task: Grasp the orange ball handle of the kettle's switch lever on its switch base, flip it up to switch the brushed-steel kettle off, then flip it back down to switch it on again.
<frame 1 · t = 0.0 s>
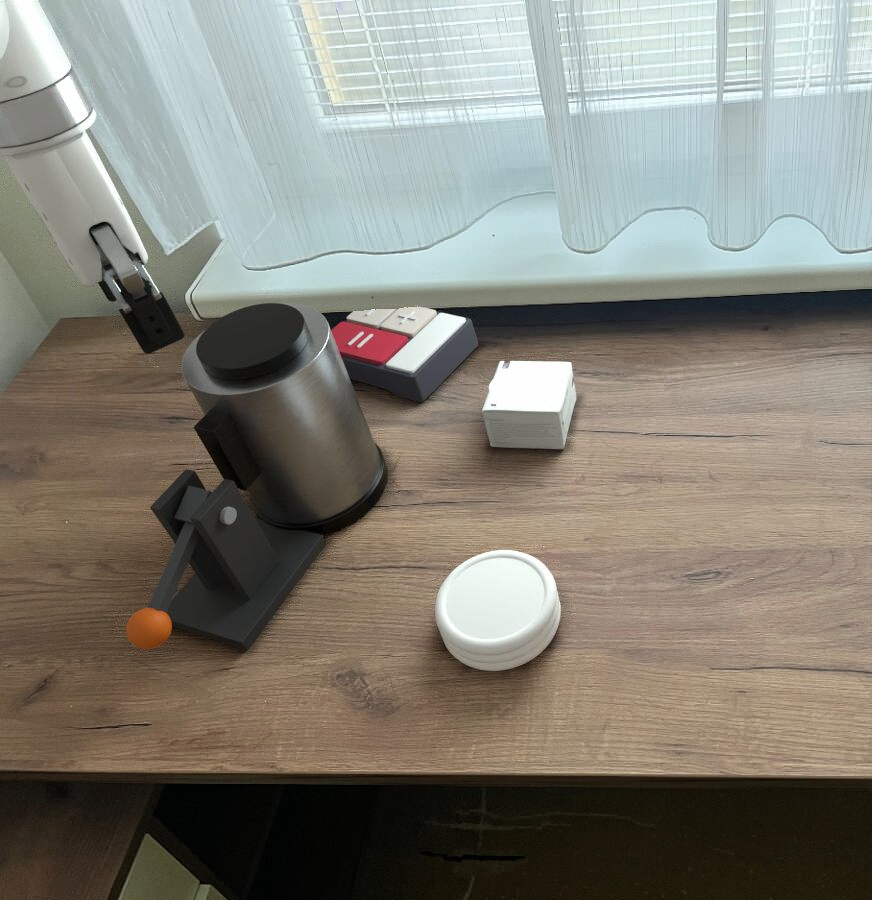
hand: (145, 318, 70), 22 cm above the table, tool pointing down, fingers open, 9 cm apart
small box: (535, 424, 90), on the table
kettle: (322, 487, 86), on the table
switch base: (247, 582, 78), on the table
switch lever: (175, 568, 70), point 8 cm above the table, hinge at -25.0°
white jar lid: (502, 622, 73), on the table
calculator: (399, 359, 100), on the table
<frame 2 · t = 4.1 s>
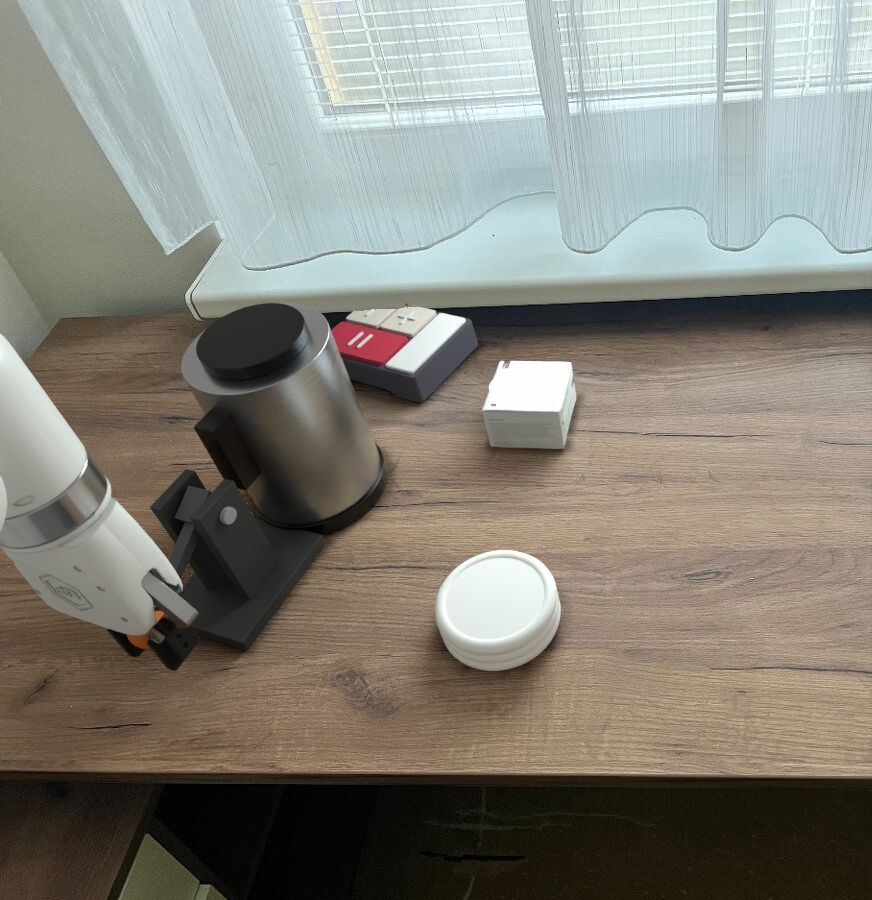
hand: (165, 647, 70), 3 cm above the table, tool pointing down, fingers closed on switch lever, 3 cm apart
switch lever: (175, 568, 70), point 8 cm above the table, hinge at -25.0°, touching gripper
everything else where it was.
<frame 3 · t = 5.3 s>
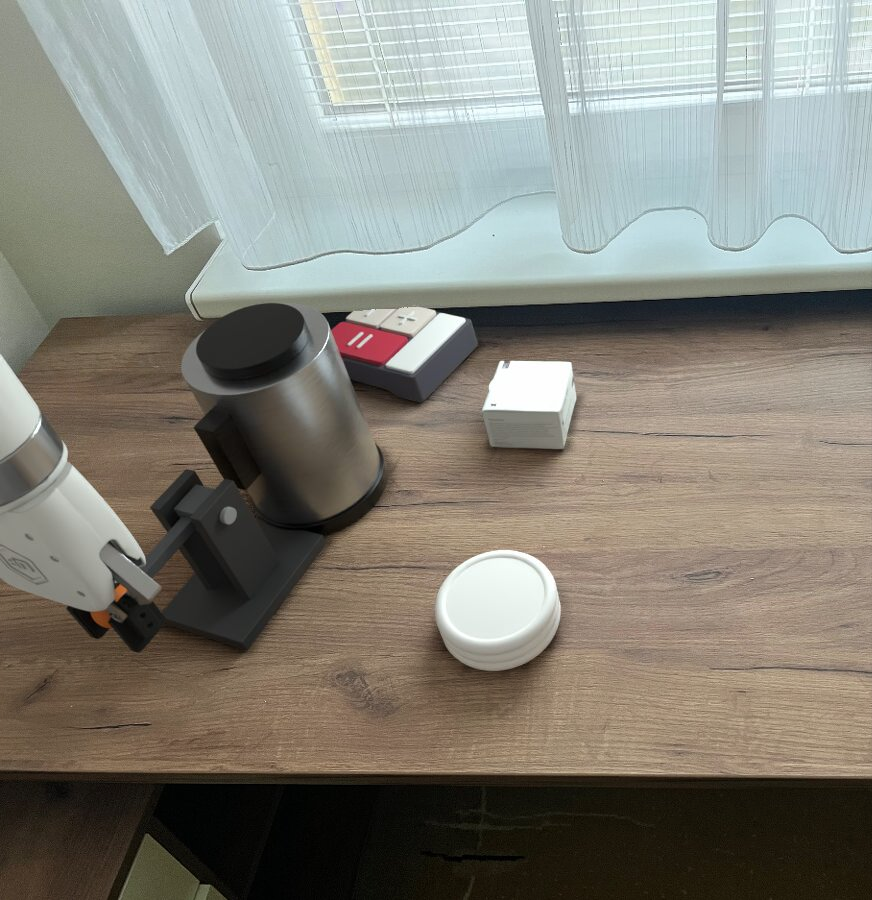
hand: (129, 628, 67), 7 cm above the table, tool pointing down, fingers closed on switch lever, 3 cm apart
switch lever: (159, 556, 68), point 10 cm above the table, hinge at -0.3°, touching gripper
everything else where it was.
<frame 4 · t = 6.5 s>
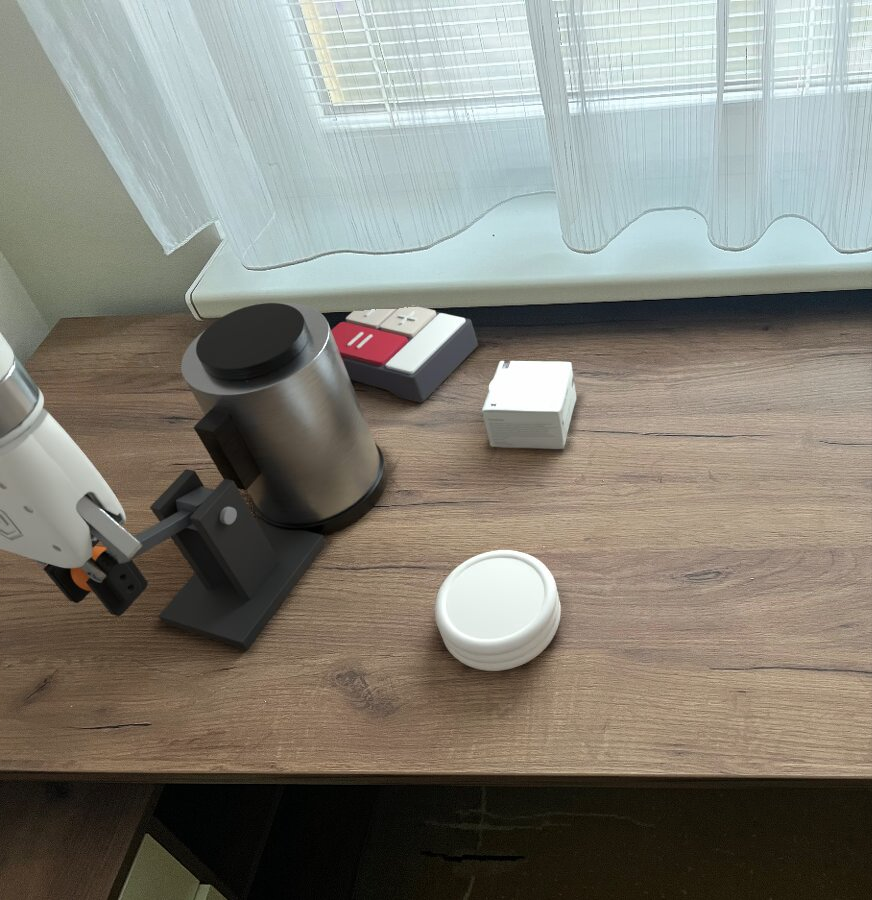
hand: (109, 592, 64), 11 cm above the table, tool pointing down, fingers closed on switch lever, 3 cm apart
switch lever: (151, 537, 67), point 12 cm above the table, hinge at 21.4°, touching gripper
everything else where it was.
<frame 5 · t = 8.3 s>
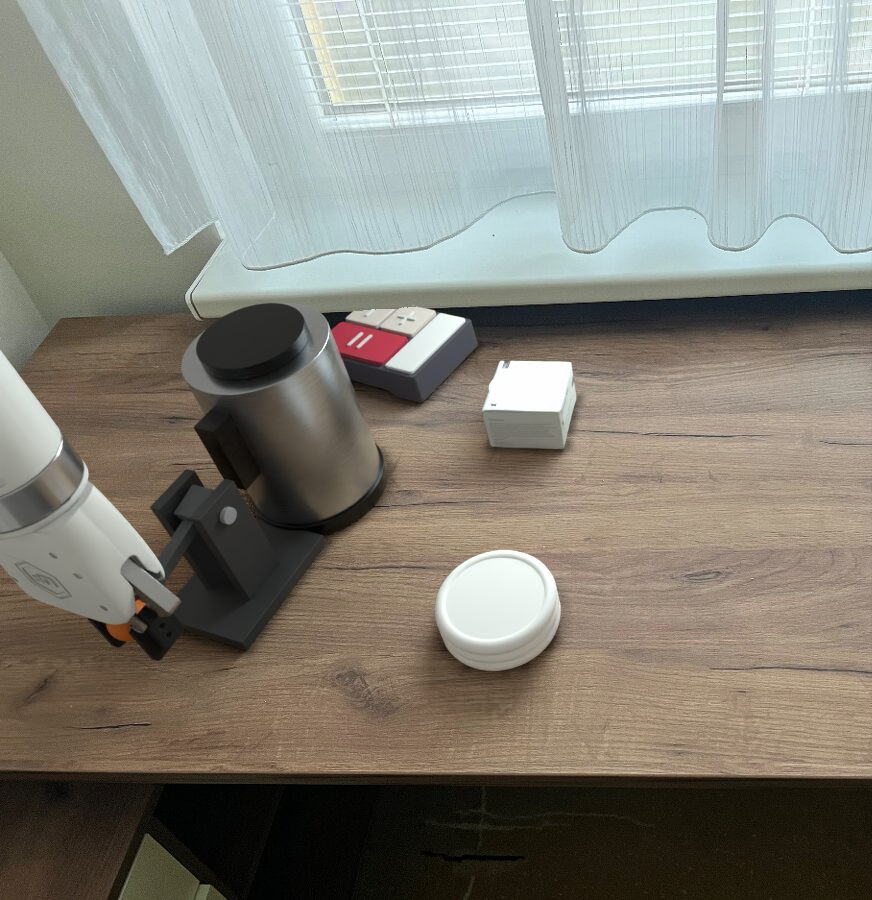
hand: (148, 637, 69), 5 cm above the table, tool pointing down, fingers closed on switch lever, 3 cm apart
switch lever: (166, 563, 69), point 9 cm above the table, hinge at -12.2°, touching gripper
everything else where it was.
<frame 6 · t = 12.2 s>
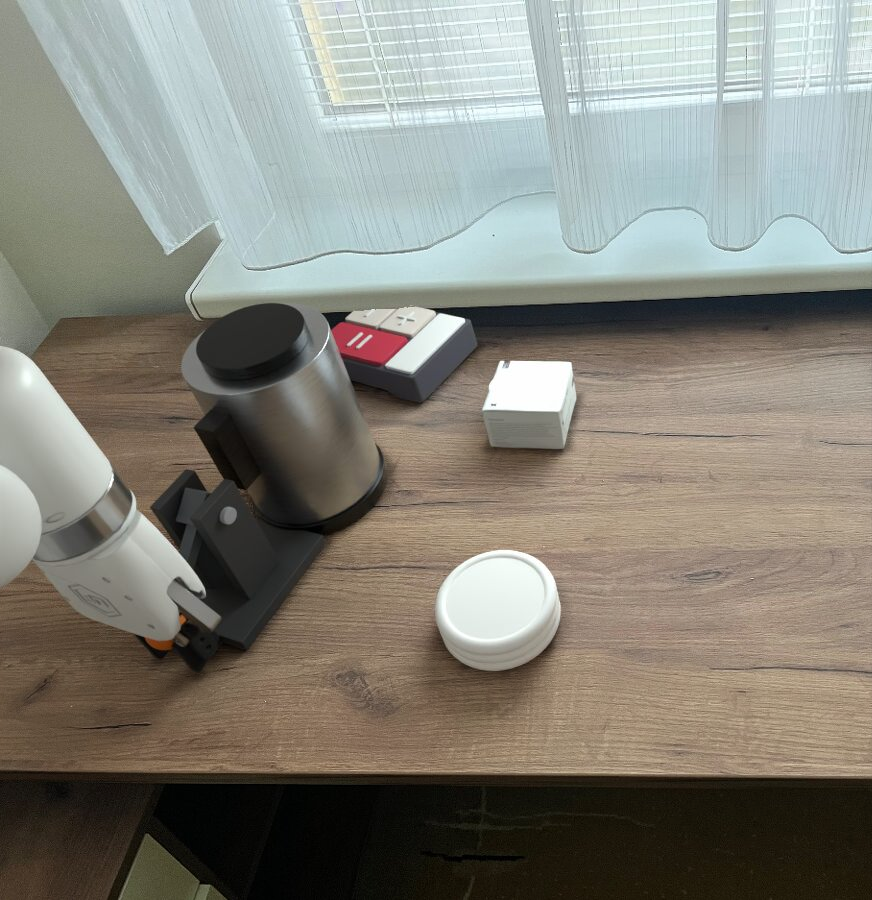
hand: (188, 649, 73), 1 cm above the table, tool pointing down, fingers closed on switch lever, 3 cm apart
switch lever: (183, 569, 71), point 7 cm above the table, hinge at -35.6°, touching gripper
everything else where it was.
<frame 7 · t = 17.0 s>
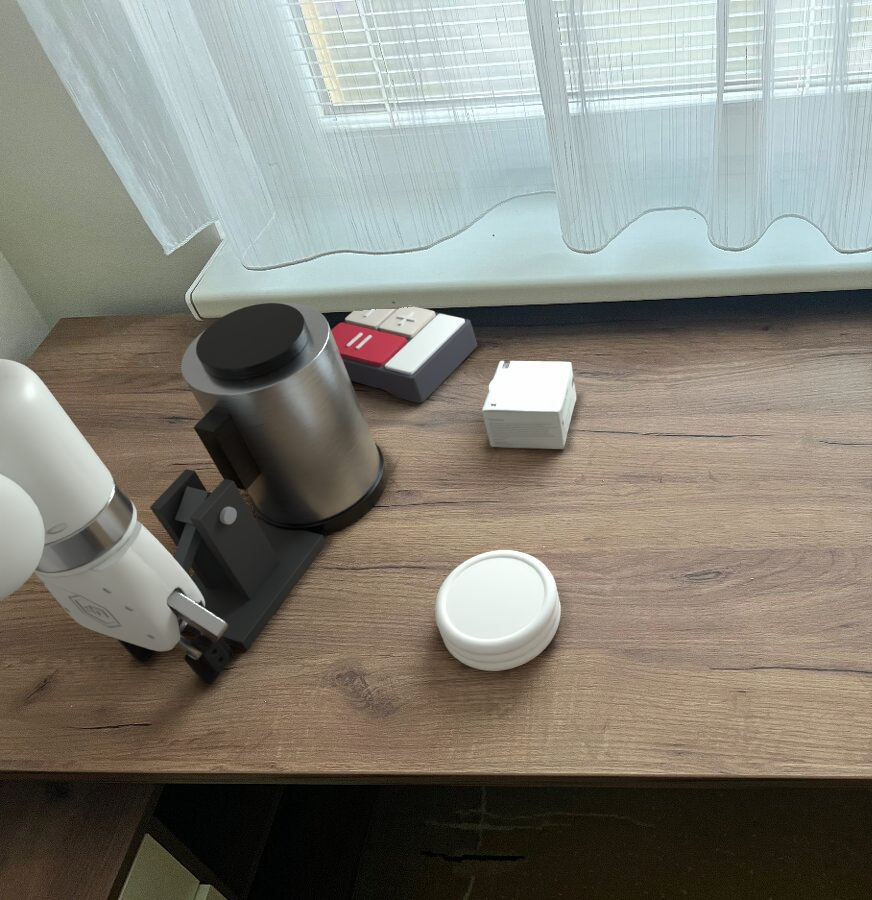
hand: (185, 656, 73), 0 cm above the table, tool pointing down, fingers open, 6 cm apart
switch lever: (179, 569, 70), point 7 cm above the table, hinge at -30.5°
everything else where it was.
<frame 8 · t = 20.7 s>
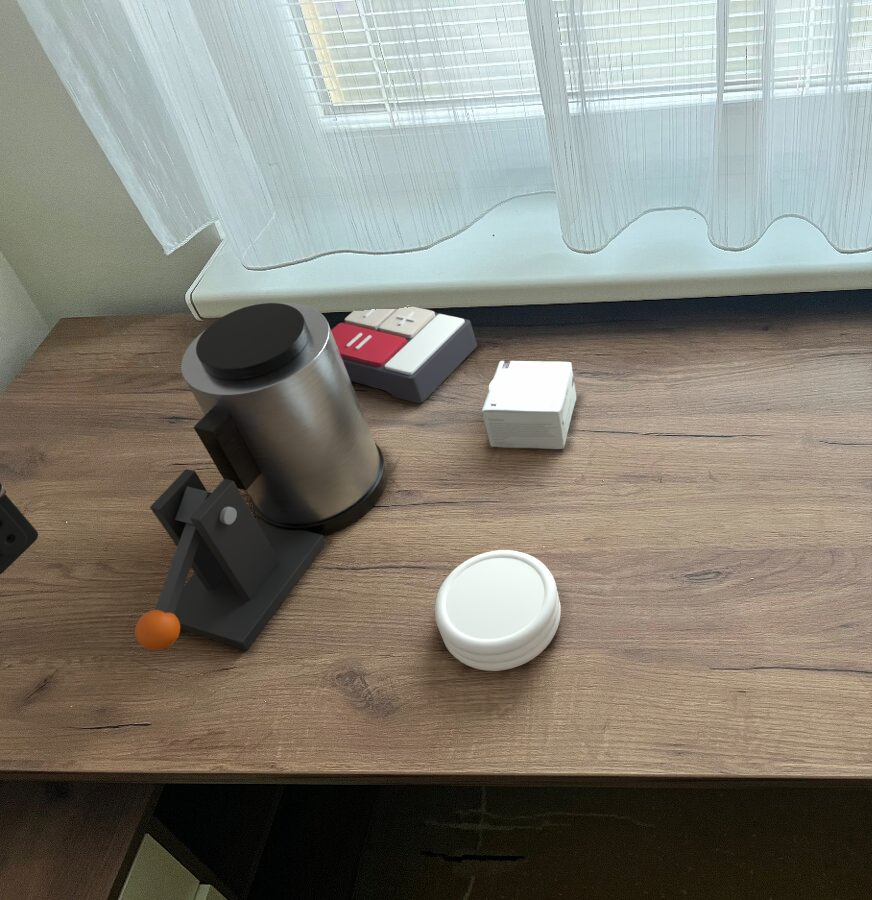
nothing on the table moved.
at the end: switch lever reached +21° during the clip, -30° at the end; switch lever at -30° (first picture: -25°) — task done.
